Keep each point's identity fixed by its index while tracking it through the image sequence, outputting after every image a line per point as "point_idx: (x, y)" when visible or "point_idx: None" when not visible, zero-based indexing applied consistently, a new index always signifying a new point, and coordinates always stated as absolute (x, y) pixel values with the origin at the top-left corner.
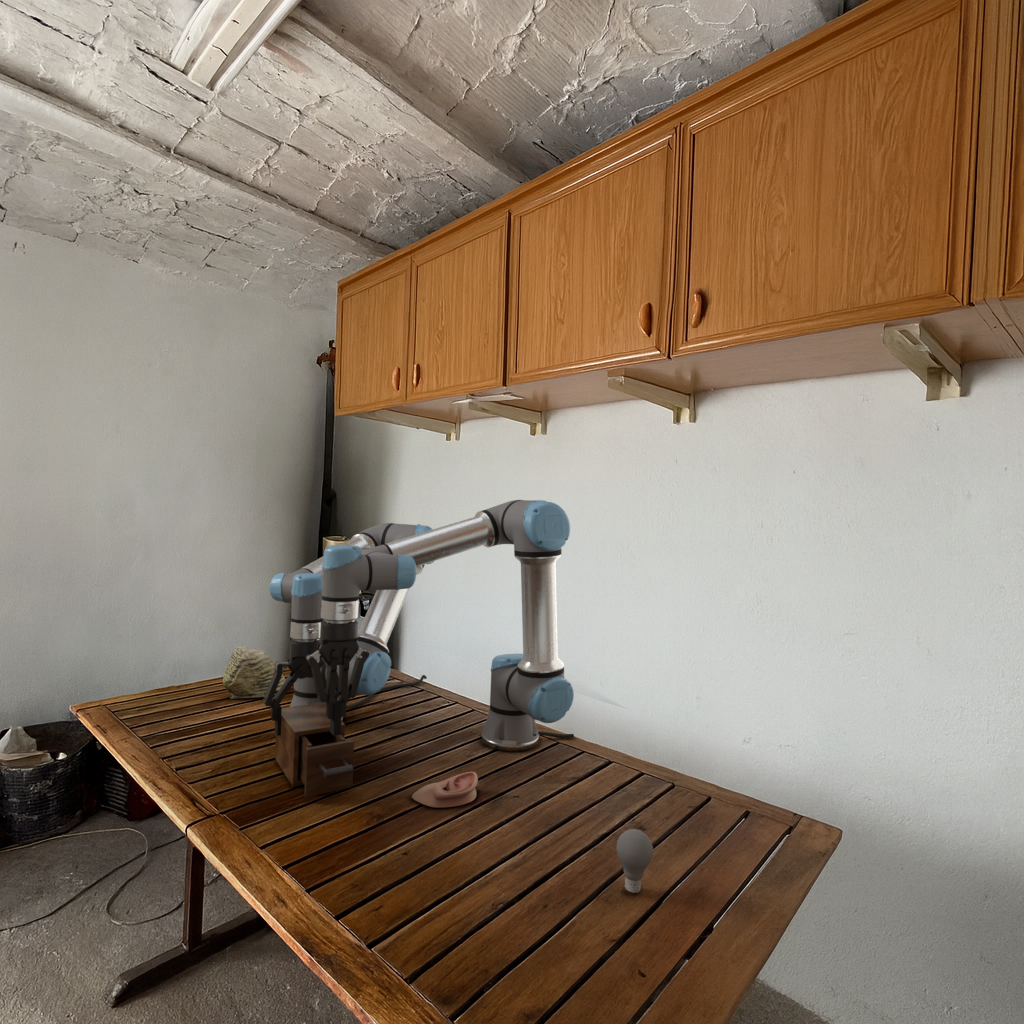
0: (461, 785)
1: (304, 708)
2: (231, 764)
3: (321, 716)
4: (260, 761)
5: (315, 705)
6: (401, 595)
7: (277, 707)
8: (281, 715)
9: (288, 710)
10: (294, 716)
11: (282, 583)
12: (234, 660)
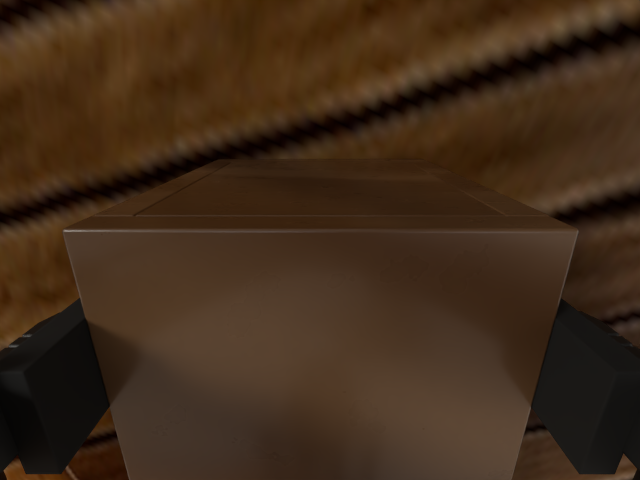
0: None
1: (334, 332)
2: (36, 136)
3: None
4: (157, 159)
5: (464, 291)
6: None
7: (16, 450)
8: (110, 406)
9: (178, 323)
10: (210, 467)
11: None
12: None
